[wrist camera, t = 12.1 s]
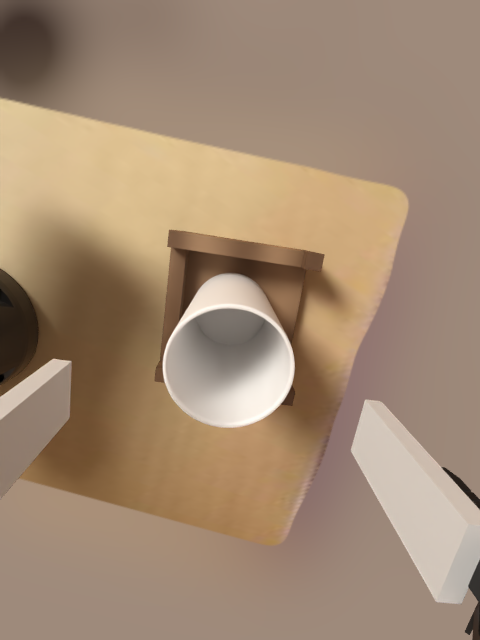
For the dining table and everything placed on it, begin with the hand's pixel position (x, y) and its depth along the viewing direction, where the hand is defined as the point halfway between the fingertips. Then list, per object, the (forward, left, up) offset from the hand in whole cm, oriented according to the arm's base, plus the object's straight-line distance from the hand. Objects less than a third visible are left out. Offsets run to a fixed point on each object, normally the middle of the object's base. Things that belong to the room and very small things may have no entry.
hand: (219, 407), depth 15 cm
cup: (+1, -1, -22) cm, 22 cm away
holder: (+1, -1, -23) cm, 23 cm away
